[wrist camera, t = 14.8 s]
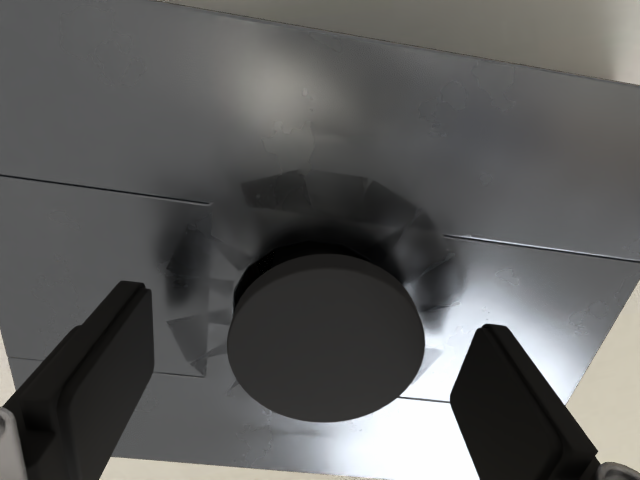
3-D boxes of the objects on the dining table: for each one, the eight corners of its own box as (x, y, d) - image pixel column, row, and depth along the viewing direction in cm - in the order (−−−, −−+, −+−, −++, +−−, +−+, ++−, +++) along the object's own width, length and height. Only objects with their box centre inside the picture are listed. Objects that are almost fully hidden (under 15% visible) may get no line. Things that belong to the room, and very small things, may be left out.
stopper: (262, 180, 15) (231, 254, 9) (400, 200, 16) (451, 282, 10) (251, 298, 17) (221, 414, 12) (371, 312, 18) (399, 431, 12)
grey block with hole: (40, -10, 12) (-95, -44, 8) (618, 90, 14) (744, 103, 10) (90, 367, 19) (30, 450, 15) (475, 405, 21) (516, 490, 17)
